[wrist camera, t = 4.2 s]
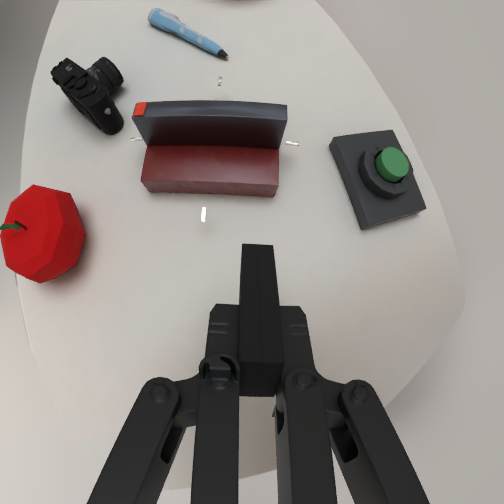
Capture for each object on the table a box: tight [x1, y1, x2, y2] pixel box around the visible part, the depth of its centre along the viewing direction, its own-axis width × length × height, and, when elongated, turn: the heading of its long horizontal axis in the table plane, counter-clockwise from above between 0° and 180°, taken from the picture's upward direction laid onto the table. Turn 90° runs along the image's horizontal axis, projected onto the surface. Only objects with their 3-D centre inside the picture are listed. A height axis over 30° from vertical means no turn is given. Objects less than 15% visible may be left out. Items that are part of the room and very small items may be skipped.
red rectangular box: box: [131, 77, 299, 222], centre depth 30 cm, size 18×18×4 cm
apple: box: [0, 185, 86, 283], centre depth 24 cm, size 11×11×10 cm
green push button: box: [375, 147, 409, 182], centre depth 28 cm, size 4×4×2 cm
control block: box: [329, 130, 426, 230], centre depth 31 cm, size 11×9×4 cm
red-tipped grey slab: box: [132, 100, 287, 149], centre depth 26 cm, size 14×2×6 cm, turn 87°
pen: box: [148, 8, 228, 58], centre depth 34 cm, size 19×3×3 cm, turn 46°
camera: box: [51, 57, 124, 135], centre depth 28 cm, size 14×7×8 cm, turn 49°
